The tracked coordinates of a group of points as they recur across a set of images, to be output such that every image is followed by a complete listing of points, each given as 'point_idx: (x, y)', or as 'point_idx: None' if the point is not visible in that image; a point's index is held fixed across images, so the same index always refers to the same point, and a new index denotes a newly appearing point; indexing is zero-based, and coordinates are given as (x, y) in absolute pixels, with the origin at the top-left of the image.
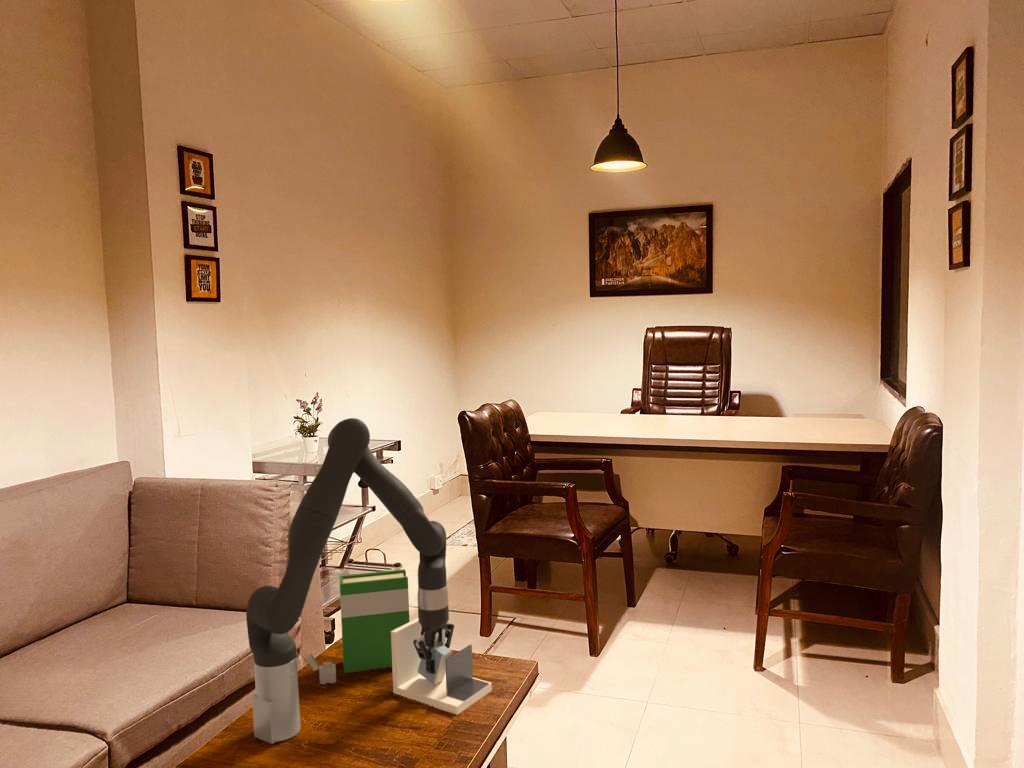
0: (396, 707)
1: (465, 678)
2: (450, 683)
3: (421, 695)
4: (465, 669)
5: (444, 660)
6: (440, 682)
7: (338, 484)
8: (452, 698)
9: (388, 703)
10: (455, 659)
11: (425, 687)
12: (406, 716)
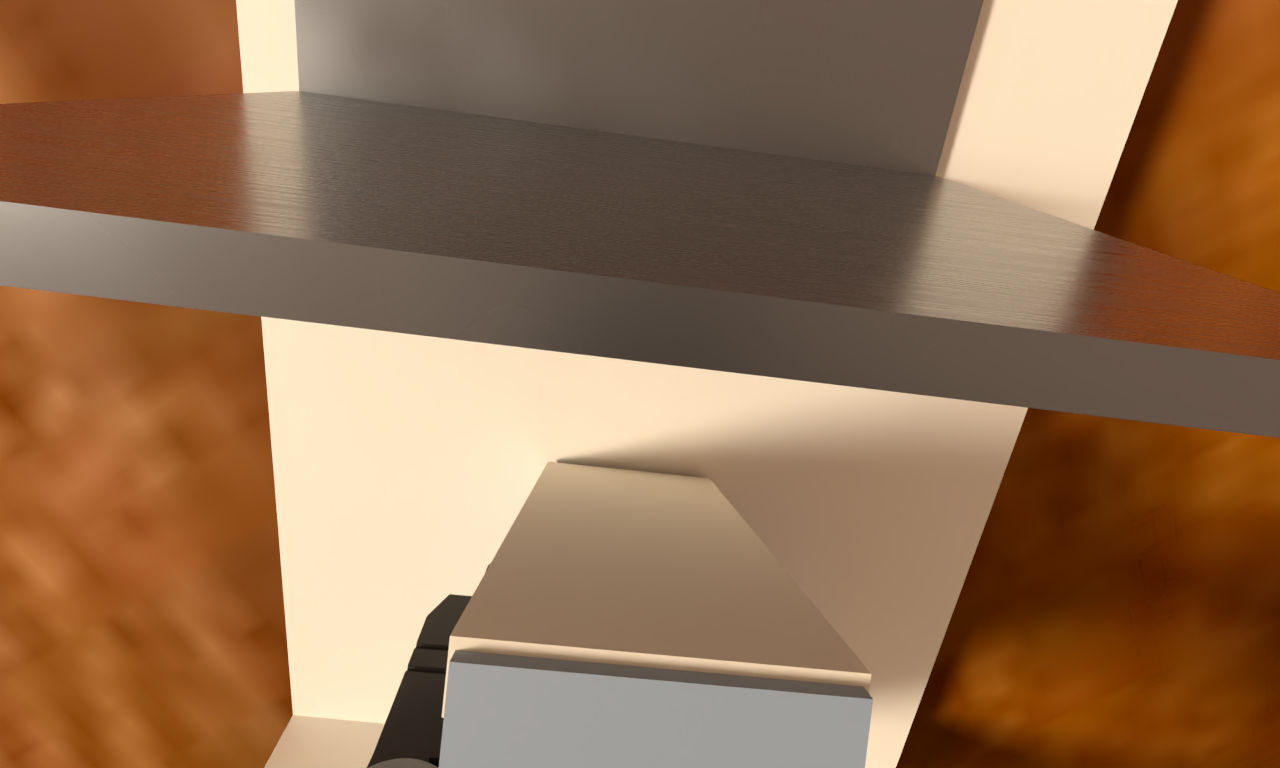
0: (1093, 608)
1: (473, 122)
2: (914, 187)
3: (994, 492)
4: (420, 132)
5: (726, 592)
6: (608, 462)
7: None
8: (982, 63)
9: (1033, 698)
10: (849, 257)
11: (793, 550)
12: (1263, 438)
